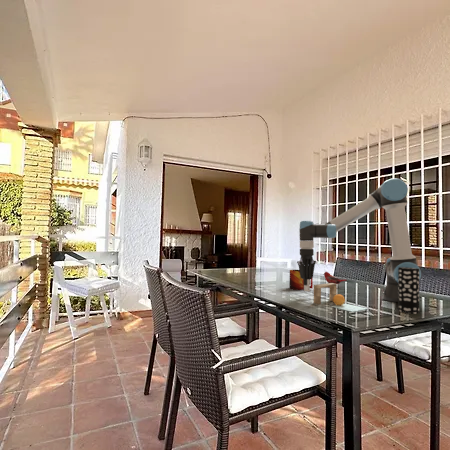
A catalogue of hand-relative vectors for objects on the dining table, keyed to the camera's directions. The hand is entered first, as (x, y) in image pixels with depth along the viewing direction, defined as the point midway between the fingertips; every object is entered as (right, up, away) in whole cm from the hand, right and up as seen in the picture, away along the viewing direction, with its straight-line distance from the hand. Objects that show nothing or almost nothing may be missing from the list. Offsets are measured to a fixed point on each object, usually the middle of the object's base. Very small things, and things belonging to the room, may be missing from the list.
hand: (306, 291), depth 168 cm
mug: (+4, -5, +29) cm, 30 cm away
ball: (+11, -1, -18) cm, 21 cm away
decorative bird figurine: (+29, -6, +38) cm, 49 cm away
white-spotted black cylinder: (+40, -4, -27) cm, 49 cm away
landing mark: (+14, -3, -23) cm, 27 cm away
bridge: (+7, -3, -11) cm, 13 cm away
